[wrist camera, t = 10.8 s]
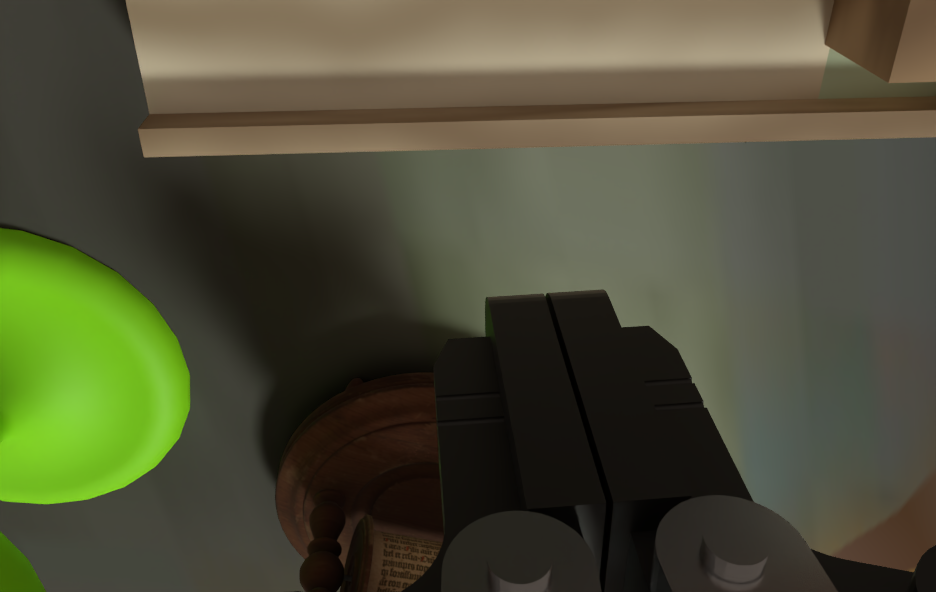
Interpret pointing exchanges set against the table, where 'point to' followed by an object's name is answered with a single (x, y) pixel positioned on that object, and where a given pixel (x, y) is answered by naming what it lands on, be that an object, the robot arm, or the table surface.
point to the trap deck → (502, 75)
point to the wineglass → (78, 383)
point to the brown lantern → (365, 487)
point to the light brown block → (887, 37)
